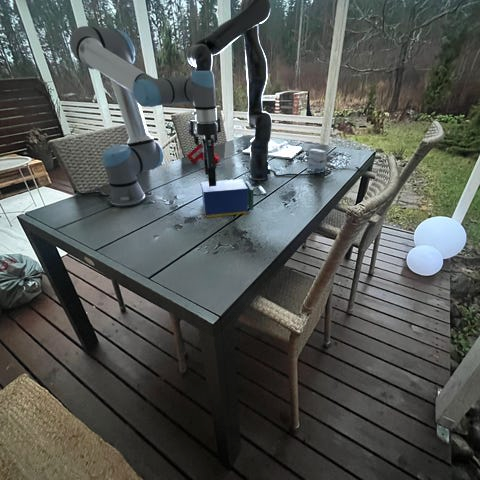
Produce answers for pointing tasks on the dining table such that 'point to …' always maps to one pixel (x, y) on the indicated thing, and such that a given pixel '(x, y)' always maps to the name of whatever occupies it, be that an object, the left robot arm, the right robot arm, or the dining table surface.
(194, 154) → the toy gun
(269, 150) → the relief map
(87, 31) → the left robot arm
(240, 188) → the cabinet
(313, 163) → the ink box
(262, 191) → the drawer
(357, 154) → the dining table surface
